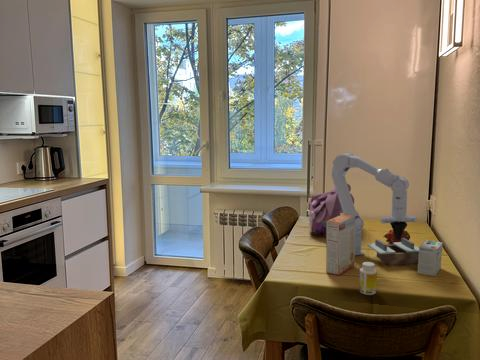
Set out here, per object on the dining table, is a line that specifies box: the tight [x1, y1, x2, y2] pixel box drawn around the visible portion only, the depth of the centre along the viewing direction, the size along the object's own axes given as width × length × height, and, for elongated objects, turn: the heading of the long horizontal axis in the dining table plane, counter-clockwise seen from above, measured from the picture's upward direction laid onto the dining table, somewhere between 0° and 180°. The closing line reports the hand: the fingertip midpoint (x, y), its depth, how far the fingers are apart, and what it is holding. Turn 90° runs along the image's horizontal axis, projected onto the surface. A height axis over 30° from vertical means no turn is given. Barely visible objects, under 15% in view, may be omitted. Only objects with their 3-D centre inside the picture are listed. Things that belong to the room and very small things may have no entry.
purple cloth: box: [308, 183, 355, 237], centre depth 224 cm, size 35×24×28 cm
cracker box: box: [325, 213, 356, 276], centre depth 170 cm, size 14×6×21 cm, turn 141°
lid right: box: [392, 238, 419, 253], centre depth 181 cm, size 7×12×3 cm, turn 8°
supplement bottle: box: [359, 261, 378, 296], centre depth 148 cm, size 6×6×10 cm
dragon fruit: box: [383, 229, 411, 245], centre depth 203 cm, size 8×8×12 cm
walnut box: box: [376, 244, 419, 267], centre depth 181 cm, size 14×12×5 cm
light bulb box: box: [417, 239, 444, 277], centre depth 168 cm, size 11×7×11 cm, turn 145°
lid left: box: [366, 238, 396, 254], centre depth 179 cm, size 7×12×3 cm, turn 8°
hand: (397, 239), depth 180 cm, fingers closed
